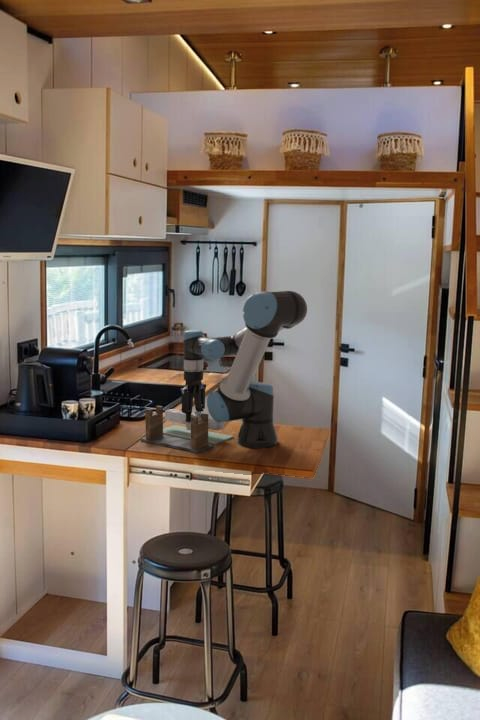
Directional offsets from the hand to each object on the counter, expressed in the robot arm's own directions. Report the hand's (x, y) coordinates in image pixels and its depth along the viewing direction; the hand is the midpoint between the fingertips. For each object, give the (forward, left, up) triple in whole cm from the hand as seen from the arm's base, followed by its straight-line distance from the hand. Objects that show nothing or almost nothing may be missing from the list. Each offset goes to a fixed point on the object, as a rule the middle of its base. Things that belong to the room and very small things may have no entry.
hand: (193, 428), depth 272 cm
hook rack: (-3, +14, -3) cm, 15 cm away
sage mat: (0, 0, -3) cm, 3 cm away
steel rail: (0, 0, +2) cm, 2 cm away
